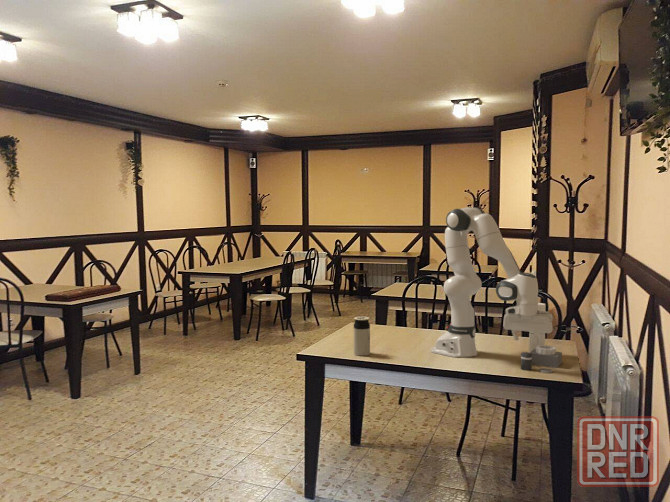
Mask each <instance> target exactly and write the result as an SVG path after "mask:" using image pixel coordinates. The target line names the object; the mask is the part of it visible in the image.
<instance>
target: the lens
mask: <svg viewBox="0 0 670 502" xmlns="http://www.w3.org/2000/svg"><path fill="white" fill-rule="evenodd" d="M532 366H533V364H532V354H531V353H529V351H528V352H527V351H525V352H524V351H522V352H521V353H520V370H522V371H532V369H533V368H532Z"/></svg>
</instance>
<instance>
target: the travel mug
mask: <svg viewBox="0 0 670 502" xmlns="http://www.w3.org/2000/svg"><path fill="white" fill-rule="evenodd" d="M353 319H354V323H353V355H356V356H358V357H362V356H363V357H365V356H368V355H370V354H371V324H370V322H369V320H370V317H368V316H355V317H353Z"/></svg>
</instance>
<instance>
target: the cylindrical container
mask: <svg viewBox="0 0 670 502" xmlns="http://www.w3.org/2000/svg"><path fill="white" fill-rule="evenodd" d="M546 310H547V309H546V303H542V302H538V311H545V312H546ZM528 333H529V334H528V337H529V338H528V353H530V352H531V351H533V350H534V349H535V348H536V346H537V345H546V333H544V335H543V336H542V338H541V343H537V338H539V337H540V336H541V335H539V332H528Z"/></svg>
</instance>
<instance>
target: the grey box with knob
mask: <svg viewBox="0 0 670 502" xmlns="http://www.w3.org/2000/svg"><path fill="white" fill-rule="evenodd" d="M530 353H531V354H532V365H537V366H544V367H550V368H557V369H558V368H559V367H560V366H561V364H562V363H563V352H562V351H557V348H556V346H553V345H548V344H545V345H537V346H536V348H535V349H534V350H533V351H531V352H530Z"/></svg>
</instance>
